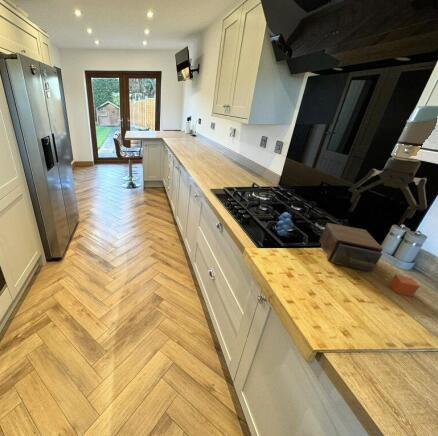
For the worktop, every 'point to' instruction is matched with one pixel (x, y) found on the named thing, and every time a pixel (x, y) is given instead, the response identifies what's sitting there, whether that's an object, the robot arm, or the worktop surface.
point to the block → (403, 285)
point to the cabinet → (345, 238)
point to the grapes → (284, 224)
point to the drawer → (356, 256)
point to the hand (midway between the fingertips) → (373, 217)
